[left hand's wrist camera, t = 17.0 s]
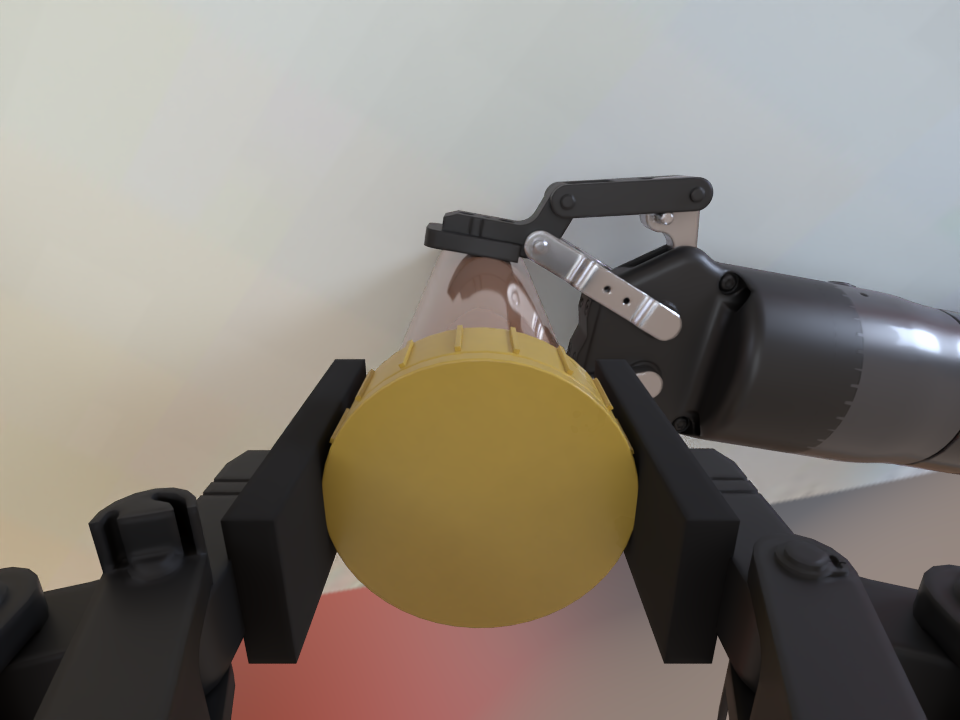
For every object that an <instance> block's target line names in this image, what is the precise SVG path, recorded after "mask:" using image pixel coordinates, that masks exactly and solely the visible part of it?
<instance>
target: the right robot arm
mask: <svg viewBox="0 0 960 720" xmlns="http://www.w3.org/2000/svg"><path fill="white" fill-rule="evenodd" d="M712 197H713V188H712V185H711V183H710V182H709V181H708V180H706V179H704V178H701V177H690V176H680V175H672V176H655V177H637V178H620V179H602V180H584V181H567V182H556V183H553V184H551V185H550V186H549V187H548V188H547V190H546V191H545V195H544V198H543V199H542V201H541V203H540V204H539V206H538V208H537V209H536V211H535V213H534V214H533V215H532V216H531V217H529V218H528V219H526V220H522V221H514V220H508V219H503V218H498V217H492V216H487V215H481V214H476V213H470V212H465V211H459V210H458V211H454V212H449V213H446V214H445V215H444V218H443V224H439V223H429V224H428V226H427V227H426V234H425V242H424V245H425V246H427V247H431V248H435V249H441V250H446V251H452V252H458V253H463V254H469V255H474V256H480V257H487V258H494V259H497V260H503V261H508V262H514V263H518V260H519V257H522V258H527V259H530V260H532V261H533V262H535V263H537V264H538V265H540V266H542V267H543V268H545V269H547V270H548V271H550V272H552V273H553V274H555V275H557V276H558V277H560V278H562V279H563V280H565V281H566V282H568V283H569V284H571V285H572V286H573V287H574V288H576V289H577V290H579V291H580V292H582V294H581V298H580V302H579V324H578V326H577V328H576V330H575V332H574V334H573V335H572V337H571V339H570V342H569V346H568V350H567V353H566V355H568V356H569V357H571V358H572V359H573V360H575V361H576V362H577V363H578V364H579V365H580V366H581V367H582V368H583V369H584V370H585V371H586V372H587V373H588V374H589V375H590V377H591V378H592V379H594V373H595V361H596V359H625V360H626V361H627V362H628V364H629V365H630V367H631V368H632V369H633V371H634V372H635V374H636V375H637V376H638V378H639V379H640V381H641V382H642V383H643V385H644V386H645V388H646V389H647V390H648V392H649V393H650V395H651V396H652V397H653V399H654V400H655V402H656V403H657V404H658V406H659V407H660V409H661V410H662V411H663V413H664V414H665V416H666V417H667V418H668V420H669V421H670V423H671V424H672V425H673V427H674V428H675V430H676V431H677V432H678V433H679V434H683V435H686V436H690V437H694V438H698V439H704V440H710V441H717V442H723V443H729V444H735V445H742V446H748V447H754V448H761V449H766V450H772V451H779V452H785V453H792V454H798V455H804V456H811V457H817V458H823V459H829V460H835V461H843V462H858V463H888V464H896V465H902V466H908V467H914V468H921V469H927V470H933V471H939V472H946V473H952V474H959V475H960V313H958V312H953V311H947V310H941V309H936V308H932V307H928V306H923V305H920V304H917V303H914V302H911V301H908V300H906V299H903V298H900V297H897V296H893V295H890V294H886V293H882V292H877V291H872V290H867V289H861V288H857V287H856V286H853V285H850V284H849V283H844V282H835V281H829V282H823V281H818V280H812V279H807V278H801V277H796V276H790V275H785V274H779V273H774V272H768V271H763V270H757V269H752V268H746V267H741V266H735V265H730V264H724V263H719V262H716V261H714V260H712V259H711V258H710V257H709V256H708V255H707V254H706V253H705V252H703V251H702V250H700V249H698V248H697V237H698V225H699V214H700V210H702V209H704V208H705V207H706V206H708V204H709V203H710V202H711V200H712ZM639 214H640V220H641V223H642V224H643V225H644V226H645V227H646V228H649V229H651V230H653V231H656V232H662V233H663V234H664V236H665V238H666V245H664V246H662V247H659V248H657V249H655V250H653V251H651V252H649V253H646V254H644V255H642V256H640V257H638V258H636V259H634V260H631V261H629V262H627V263H625V264H623V265H621V266H618V267H616V268H614V269H612V268H611V267H609V266H607V265H606V264H604V263H603V262H601V261H599V260H598V259H596V258H595V257H593V256H591V255H590V254H588V253H587V252H585V251H583V250H582V249H580V248H578V247H576V246H574V245H573V244H571V243H569V242H568V241H566V240H565V239H563V238H561V237H562V235H563V234H564V232H565V230H566V229H567V227H568V226H569V224H570V222H571V221H572V219H573V218H585V217H603V216H621V215H639Z"/></svg>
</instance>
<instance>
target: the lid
mask: <svg viewBox="0 0 960 720" xmlns="http://www.w3.org/2000/svg"><path fill="white" fill-rule="evenodd" d="M612 409H613V407H612V405H611V403H610V401H609V399H608V397H607V395H606V393H605V391H604V390H603V388H602V386H601V384H600V382H599V380H598V379H597V378H595V379H592V378H591V377H590V375H589V374H588V373H587V372H586V371H585V370H584V369H583V368H582V367H581V366H580V365H579V364H578V363H577V362H576V361H575V360H573V359H572V358H571V357H569V356H568V355H566V353H565V350H564V348H563V347H561V346H560V345H559V346H558V348H556V347H554V346H552V345H550V344H548V343H546V342H545V341H543V340H540V339H537V338H535V337H532V336H529V335H527V334H524V333H519V332H516V328H514V327H510V330H506V329H498V328H488V327H480V328H463V325H457V329H455V330H449V331H445V332H441V333H438V334H434V335H431V336H428V337H425V338H423V339H421V340H418V341H416V342H413V340H410V341H408V342H407V344H406V347H405V348H403V349H401V350H400V351H398V352H396V353H395V354H394V355H392V356H391V357H390V358H389V359H387V360H386V361H385V362H384V363H382V364H381V365H380V366H379V367H378V368H377V369H376V370H375V371H374V370H373V369H371V370H370V371H369V372H368V374H367V376H366V378H365V380H364V382H363V384H362V386H361V388H360V390H359V391H358V393H357V395H356V397H355V400H354V402H353V404H352V406H351V408H350V409H348V408H346V410H345V412H344V414H343V416H342V418H341V420H340V422H339V424H338V425H337V427H336V429H335V431H334V433H333V435H332V437H331V439H330V442H329V443H332V445H331V447H330V450H329V453H328V456H327V459H326V462H325V465H324V471H323V477H322V489H323V499H324V507H325V516H326V524H327V529H328V533H329V536H330V538H331V540H332V542H333V544H334V546H335V549H336V551H337V552H338V554H339V555H340V557H341V558H342V560H343V562H344V563H345V565H346V566H347V567H348V568H349V570H350V571H351V572H352V573H353V574H354V575H355V577H356V578H357V579H358V580H359V581H360V582H361V583H363V584H364V585H365V586H366V587H367V588H368V589H369V590H370V591H371V592H373V593H374V594H376V595H377V596H379V597H380V598H381V599H383V600H384V601H386V602H387V603H389V604H391V605H393V606H395V607H396V608H398V609H400V610H402V611H404V612H407V613H409V614H411V615H414V616H416V617H419V618H422V619H425V620H429V621H432V622H435V623H440V624H445V625H451V626H457V627H469V628H494V627H502V626H511V625H516V624H520V623H524V622H529V621H532V620H535V619H538V618H541V617H544V616H547V615H549V614H551V613H554V612H556V611H558V610H560V609H562V608H564V607H566V606H568V605H569V604H571V603H573V602H574V601H576V600H578V599H579V598H581V597H582V596H583V595H585V594H586V593H587V592H589V591H590V590H591V589H592V588H594V587H595V586H596V585H597V584H598V583H599V582H600V581H601V580H602V579H603V578H604V577H605V576H606V575H607V574H608V573H609V571H610V570H611V569H612V567H613V566H614V565H615V564H616V562H617V561H618V559H619V558H620V556H621V554H622V553H623V551H624V549H625V547H626V546H627V543H628V541H629V538H630V536H631V534H632V531H633V528H634V521H635V513H636V504H637V496H638V474H637V470H636V465H635V461H634V457H633V455H632V454H634V450H633V448H632V446H631V444H630V442H629V440H628V438H627V436H626V435H625V433H624V431H623V429H622V427H621V425H620V423H619V421H618V419H617V418H616V419H615V417H614V415H613V413H612V411H611V410H612Z"/></svg>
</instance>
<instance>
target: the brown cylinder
mask: <svg viewBox="0 0 960 720" xmlns="http://www.w3.org/2000/svg"><path fill="white" fill-rule="evenodd" d="M457 325H463V328H480V327H488V328H498V329H506V330H510V327H514V328H516V332H519V333H524V334H527V335H529V336H532V337H535V338H537V339H540V340H543V341H545V342H546V343H548V344H550V345H552V346H554V347H556V348H558V346H559V344H558V341H557V339H556V337H555V334H554V332H553V329H552V327H551V325H550V322H549V320H548V317H547V315H546V313H545V310H544V308H543V305H542V303H541V301H540V298H539V296H538V294H537V291H536V289H535V286H534V284H533V282H532V279H531V277H530V274H529V272H528V270H527V267H526V265H525V262H524V260H523V258H522V257H519V260H518V263H514V262H508V261H503V260H497V259H494V258H487V257H480V256H474V255H469V254H463V253H458V252H452V251H446V250H442V252H441V253H440V255H439V257H438V258H437V261H436V263H435V266H434V268H433V270H432V273H431V275H430V277H429V280H428V282H427V285H426V287H425V289H424V292H423V294H422V297H421V299H420V301H419V304H418V306H417V309H416V311H415V313H414V316H413V318H412V321H411V323H410V325H409V328H408V330H407V333H406V335H405V337H404V340H403V342H402V345H401V347H400V349H399V351H400V350H401V349H403V348H405V347H406V344H407V342H408V341H410V340H413V342H416V341H418V340H421V339H423V338H425V337H428V336H431V335H434V334H438V333H441V332H445V331H449V330H455V329H457Z"/></svg>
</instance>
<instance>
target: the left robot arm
mask: <svg viewBox="0 0 960 720" xmlns="http://www.w3.org/2000/svg"><path fill="white" fill-rule="evenodd" d="M365 378H366V366H365V359H335V360H334V362H333V363H332V365H331V366H330V367H329V369H328V370H327V372H326V373H325V374H324V376H323V377H322V379H321V380H320V381H319V383H318V384H317V386H316V387H315V388H314V390H313V391H312V393H311V394H310V395H309V397H308V398H307V400H306V401H305V402H304V404H303V405H302V407H301V408H300V409H299V411H298V412H297V414H296V415H295V417H294V418H293V419H292V421H291V422H290V424H289V425H288V426H287V428H286V429H285V431H284V432H283V433H282V435H281V436H280V438H279V439H278V440H277V442H276V443H275V445H274V446H273V447H272V449H271V450H248V451H246V452H244V453H243V454H241V455H240V456H238V457H236V458H235V459H233V460H232V461H230V462H229V463H227V464H226V465H225V466H224V468H223V469H222V470H221V471H220V472H219V474H218V475H217V476H216V477H215V479H214V482H211V483H210V485H209V486H208V487H207V488H206V489H205V491H204V492H203V495H201V496H200V497H199V498H198V499H197V500H196V497H195V496H194V495H193V494H191V493H190V492H189V491H188V490H183V489H178V488H157V489H151V490H147V491H143V492H139V493H135V494H132V495H130V496H127V497H125V498H123V499H120V500H118V501H115V502H114V503H112V504H111V505H109V506H107V507H106V508H104V509H103V510H101V511H100V512H98V514H97V515H96V516H95V517H94V518H93V519H92V520H91V521H90V522H89V523H88V524H89V527H90V531H91V534H92V537H93V541H94V544H95V547H96V551H97V554H98V557H99V561H100V564H101V567H102V571H103V574H102V576H101V579H100V580H96V581H92V582H88V583H83V584H79V585H74V586H69V587H65V588H60V589H55V590H51V591H46V592H43V590H42V587H41V584H40V581H39V579H38V576H37V575H36V574H35V573H34V572H32V571H31V570H30V569H26V568H17V567H9V568H3V569H0V720H231V714H232V706H233V698H234V690H235V681H234V673H233V669H232V664H231V662H232V660H233V657H234V655H235V653H236V651H237V649H238V647H239V645H240V643H241V641H242V639H243V637H244V642H245V647H246V652H247V657H248V662H249V663H250V664H296V663H297V660H298V658H299V655H300V652H301V649H302V647H303V644H304V641H305V638H306V635H307V632H308V630H309V627H310V624H311V621H312V619H313V616H314V613H315V610H316V608H317V605H318V602H319V600H320V597H321V594H322V591H323V588H324V586H325V583H326V580H327V577H328V575H329V572H330V569H331V566H332V564H333V561H334V558H335V555H336V553H337V551H336V549H335V546H334V544H333V542H332V540H331V538H330V536H329V533H328V529H327V524H326V516H325V507H324V499H323V489H322V477H323V471H324V465H325V462H326V459H327V456H328V453H329V450H330V447H331V445H332V443H329V442H330V439H331V437H332V435H333V433H334V431H335V429H336V427H337V425H338V424H339V422H340V420H341V418H342V416H343V414H344V412H345V410H346V408H348V409H350V408H351V406H352V404H353V402H354V400H355V397H356V395H357V393H358V391H359V390H360V388H361V386H362V384H363V382H364V380H365ZM595 378H597V379H598V380H599V382H600V384H601V386H602V388H603V390H604V391H605V393H606V395H607V397H608V399H609V401H610V403H611V405H612V407H613V409H612V410H611V411H612V413H613V415H614V417H615V419H616V418H617V419H618V421H619V423H620V425H621V427H622V429H623V431H624V433H625V435H626V436H627V438H628V440H629V442H630V444H631V446H632V448H633V450H634V454H632V455H633V457H634V461H635V465H636V470H637V474H638V496H637V504H636V513H635V521H634V528H633V531H632V534H631V536H630V538H629V541H628V543H627V546H626V547H625V549H624V554H625V556H626V559H627V562H628V565H629V568H630V570H631V573H632V576H633V579H634V581H635V584H636V587H637V590H638V592H639V595H640V598H641V601H642V603H643V606H644V609H645V612H646V614H647V617H648V620H649V623H650V626H651V628H652V631H653V634H654V636H655V639H656V642H657V645H658V648H659V650H660V653H661V656H662V659H663V661H664V663H667V664H674V663H675V664H711V663H712V660H713V655H714V650H715V645H716V640H717V635H718V637H719V639H720V641H721V643H722V645H723V647H724V649H725V651H726V653H727V655H728V657H729V664H728V669H727V674H726V678H725V683H724V687H723V692H722V697H721V701H720V706H719V712H718V719H717V720H726V716H727V712H728V713H729V720H960V566H955V565H941V566H933V567H932V568H930V569H929V570H928V571H926V572H925V573H924V575H923V578H922V581H921V584H920V587H919V589H918V590H917V589H912V588H907V587H903V586H898V585H893V584H888V583H884V582H879V581H874V580H870V579H866V578H863V577H859V576H858V573H857V572H856V570H855V569H854V568H853V566H852V565H851V564H850V562H849V561H848V560H847V559H846V558H844V557H843V556H842V555H840V554H839V553H838V552H836V551H835V550H834V549H832V548H831V547H829V546H826V545H824V544H822V543H820V542H818V541H816V540H814V539H811V538H807V537H803V536H800V535H796V534H794V533H793V532H792V531H791V530H790V528H789V527H788V526H787V525H786V524H785V523H784V521H783V520H782V519H781V518H780V516H779V515H778V514H777V513H776V512H775V510H774V509H773V508H772V507H771V506H770V504H769V503H768V502H767V501H766V500H765V498H764V497H763V496H762V495H761V494H758V490H757V489H756V488H755V486H754V485H753V484H752V483H751V481H750V480H747V477H746V475H745V474H744V473H743V472H742V471H741V469H740V468H739V467H738V466H737V465H736V463H735V462H734V461H732V460H730V459H729V458H727V457H726V456H724V455H723V454H721V453H719V452H718V451H716V450H715V449H689V448H688V446H687V445H686V444H685V442H684V441H683V439H682V438H681V437H680V435H679V434H678V432H677V431H676V430H675V428H674V427H673V425H672V424H671V423H670V421H669V420H668V418H667V417H666V416H665V414H664V413H663V411H662V410H661V409H660V407H659V406H658V404H657V403H656V402H655V400H654V399H653V397H652V396H651V395H650V393H649V392H648V390H647V389H646V388H645V386H644V385H643V383H642V382H641V381H640V379H639V378H638V376H637V375H636V374H635V372H634V371H633V369H632V368H631V367H630V365H629V364H628V362H627V361H626V360H625V359H596V361H595V373H594V379H595Z"/></svg>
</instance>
